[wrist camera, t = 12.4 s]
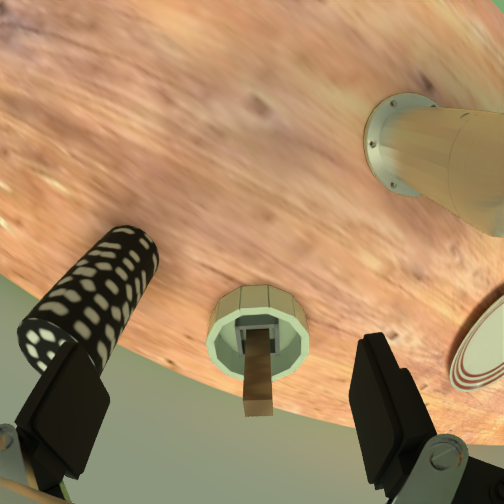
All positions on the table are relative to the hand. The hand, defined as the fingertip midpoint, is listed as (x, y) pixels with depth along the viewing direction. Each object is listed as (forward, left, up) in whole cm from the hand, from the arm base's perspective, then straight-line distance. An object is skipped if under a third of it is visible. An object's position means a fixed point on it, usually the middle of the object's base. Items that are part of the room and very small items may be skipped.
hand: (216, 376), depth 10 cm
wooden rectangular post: (0, +20, -28) cm, 34 cm away
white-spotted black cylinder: (+16, +8, -28) cm, 34 cm away
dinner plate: (-47, +30, -29) cm, 63 cm away
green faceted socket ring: (0, +20, -28) cm, 35 cm away
